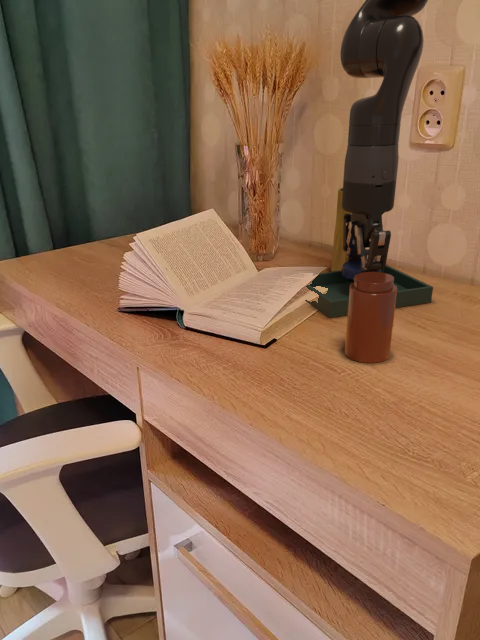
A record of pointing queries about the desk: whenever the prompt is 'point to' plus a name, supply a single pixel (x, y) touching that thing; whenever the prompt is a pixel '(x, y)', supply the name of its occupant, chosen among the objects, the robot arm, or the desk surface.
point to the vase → (339, 237)
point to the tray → (339, 286)
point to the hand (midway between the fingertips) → (360, 286)
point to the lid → (352, 269)
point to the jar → (370, 317)
